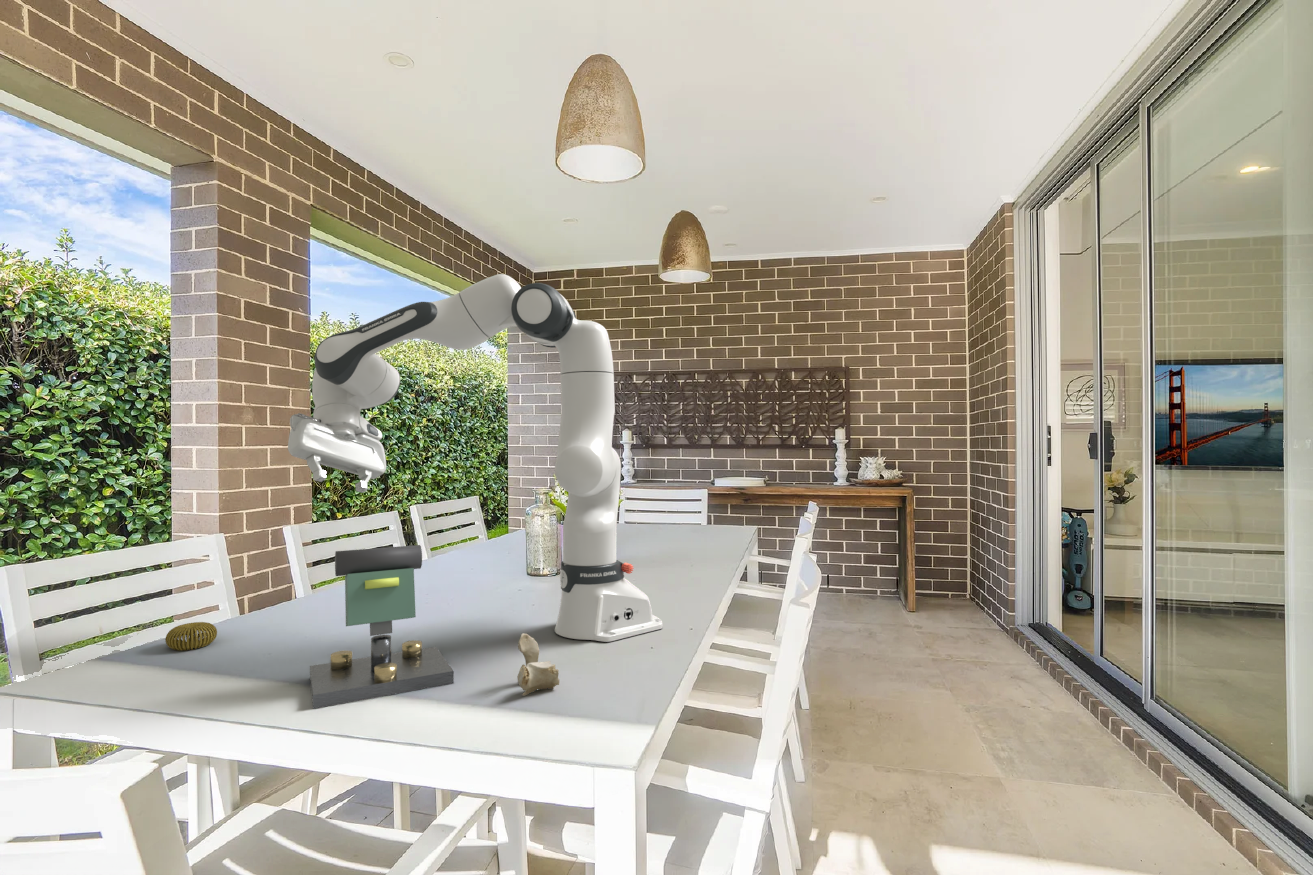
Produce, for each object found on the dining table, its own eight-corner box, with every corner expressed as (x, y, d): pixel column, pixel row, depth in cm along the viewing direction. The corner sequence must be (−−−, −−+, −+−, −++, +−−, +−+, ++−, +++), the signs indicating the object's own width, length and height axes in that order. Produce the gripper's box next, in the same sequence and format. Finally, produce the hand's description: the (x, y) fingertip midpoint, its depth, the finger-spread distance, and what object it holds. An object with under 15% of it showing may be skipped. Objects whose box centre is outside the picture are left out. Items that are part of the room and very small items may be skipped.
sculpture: (175, 621, 125) (223, 618, 127) (175, 642, 125) (223, 638, 127) (157, 633, 117) (208, 629, 120) (157, 655, 117) (208, 651, 120)
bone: (558, 691, 96) (526, 632, 98) (522, 712, 97) (490, 653, 98) (571, 674, 105) (541, 620, 106) (538, 694, 105) (508, 640, 106)
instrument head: (420, 628, 110) (417, 546, 113) (426, 628, 105) (423, 542, 108) (335, 640, 104) (334, 553, 107) (338, 640, 99) (337, 548, 102)
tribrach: (435, 657, 116) (436, 618, 116) (453, 683, 104) (453, 639, 104) (309, 677, 106) (310, 635, 106) (313, 708, 94) (313, 660, 94)
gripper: (301, 402, 124) (303, 465, 117) (388, 434, 141) (394, 490, 134) (279, 417, 126) (280, 479, 119) (368, 447, 143) (372, 502, 136)
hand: (341, 485), depth 127 cm, fingers open, 8 cm apart
